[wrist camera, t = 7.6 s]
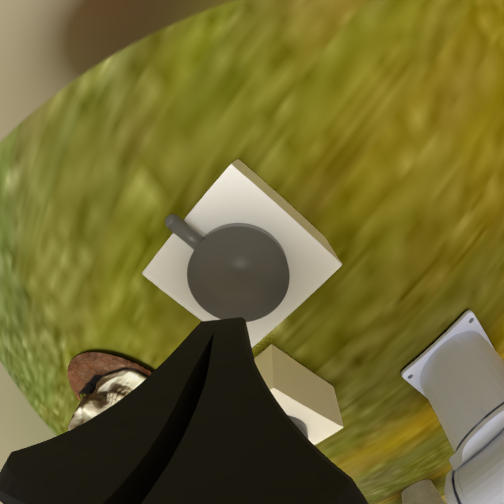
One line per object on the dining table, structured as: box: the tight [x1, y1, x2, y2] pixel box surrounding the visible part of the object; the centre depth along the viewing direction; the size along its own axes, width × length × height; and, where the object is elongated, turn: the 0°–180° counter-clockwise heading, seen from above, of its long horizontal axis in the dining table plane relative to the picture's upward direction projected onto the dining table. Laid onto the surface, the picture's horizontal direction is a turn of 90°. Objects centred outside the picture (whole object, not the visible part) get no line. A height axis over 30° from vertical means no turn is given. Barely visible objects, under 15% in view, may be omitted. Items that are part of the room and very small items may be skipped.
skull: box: [68, 351, 152, 431], centre depth 23 cm, size 12×10×10 cm
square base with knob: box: [142, 159, 342, 347], centre depth 17 cm, size 7×7×4 cm
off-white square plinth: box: [254, 344, 344, 445], centre depth 21 cm, size 7×7×4 cm
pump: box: [165, 214, 290, 322], centre depth 16 cm, size 6×5×4 cm
